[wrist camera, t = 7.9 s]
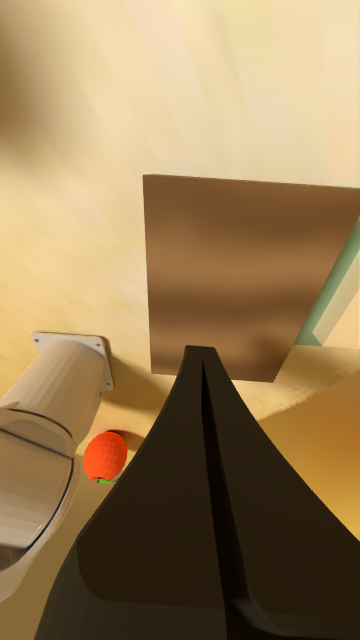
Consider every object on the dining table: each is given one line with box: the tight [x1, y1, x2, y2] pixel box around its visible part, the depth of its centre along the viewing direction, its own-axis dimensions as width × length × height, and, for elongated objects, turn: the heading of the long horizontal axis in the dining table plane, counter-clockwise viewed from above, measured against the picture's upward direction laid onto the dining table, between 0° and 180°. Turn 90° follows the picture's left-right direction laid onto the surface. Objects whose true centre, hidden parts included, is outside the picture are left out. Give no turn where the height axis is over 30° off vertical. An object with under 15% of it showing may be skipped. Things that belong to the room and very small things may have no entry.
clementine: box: [83, 432, 127, 483], centre depth 34 cm, size 8×7×7 cm
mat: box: [293, 187, 360, 346], centre depth 18 cm, size 14×11×1 cm
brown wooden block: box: [143, 174, 360, 383], centre depth 17 cm, size 16×12×4 cm
